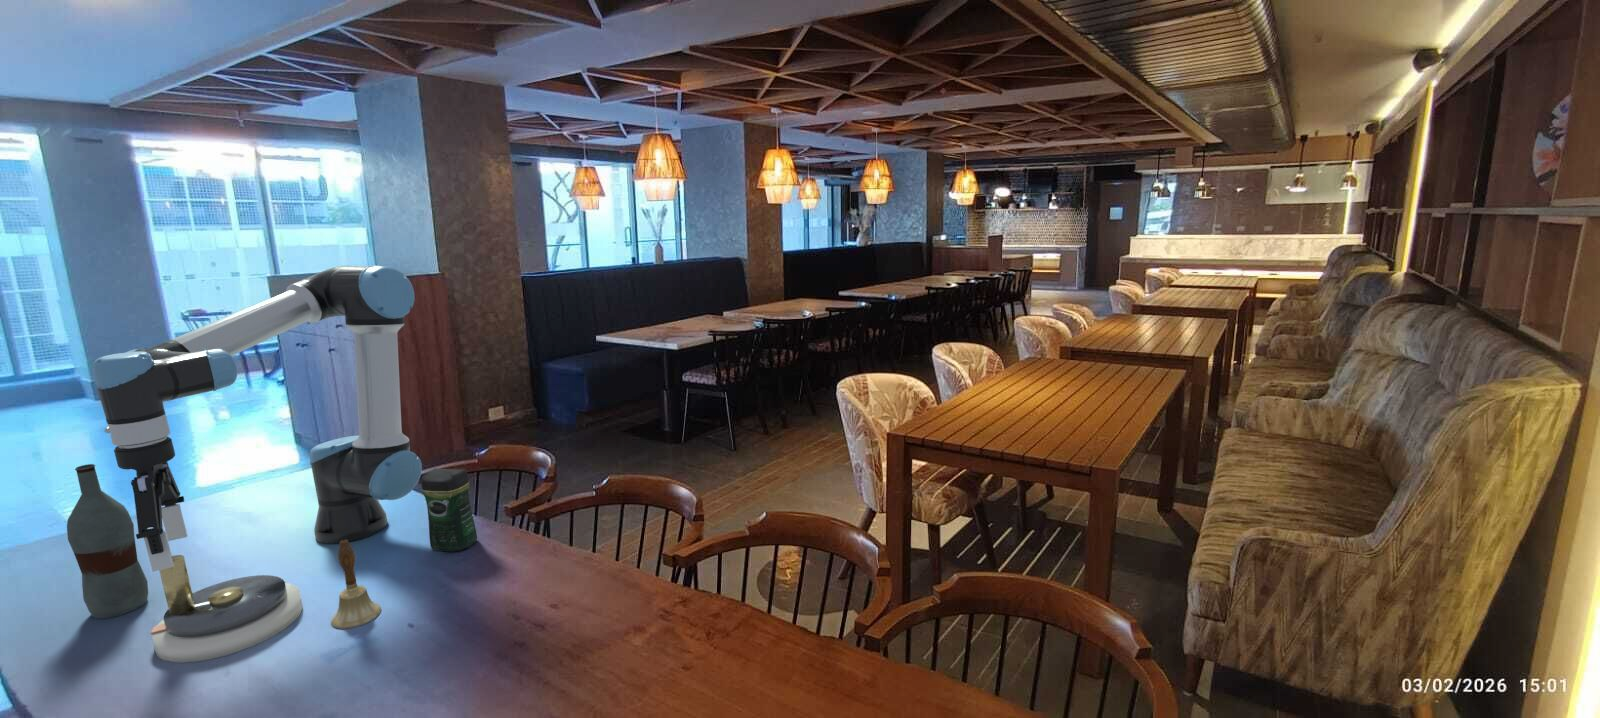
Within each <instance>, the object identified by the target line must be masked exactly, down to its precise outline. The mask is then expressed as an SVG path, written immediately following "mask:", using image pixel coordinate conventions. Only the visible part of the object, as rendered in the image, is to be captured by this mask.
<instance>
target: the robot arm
mask: <svg viewBox="0 0 1600 718" xmlns="http://www.w3.org/2000/svg"><path fill="white" fill-rule="evenodd" d="M285 289H286V290H285V292H283V293H280V294H278V295H275V296H272V297H271V298H268V299H265V300H264V301H261V302H258V303H256V304H253V305H251V306H248V307H246V308H244V309H242V310H239V311H237V312H234V313H232V314H230V315H227V316H224V317H222V318H220V319H217V320H215V321H212V322H211V323H208V324H206V325H203V326H201V327H199V328H195V329H193V330H191V331H189V332H186V333H185V334H181V335H179V336H177V337H175V338H172V339H170V340H167V341H165V342H161V343H159V344H156V345H154V346H152V347H149V348H147V347H145V348H144V347H142V348H135V349H131V350H128V351H126V352H118V353H113V354H108V355H104V356H100V357H99V358H96V359H95V360H94V362H93V363H92V368H93V369H92V370H93V377H94V378H93V379H94V386H95V388H96V389H97V392H98V397H99V400H100V403H101V406H102V410H103V413H104V416H105V421H106V424H107V427H105V428H104V430H103V432H104V433H106V434H110V439H111V444H112V445H114V446H116V447H114V449H113V453H114V456H115V460H116V463H117V467H118V468H119V469H122V470H134V471H135V472H136V473H135V474H136V476H135V477H133V479H131V482H130V484H131V486H132V490H133V498H134V506H135V515H136V522H137V532H138V533H136V534H135V536H136V539H137V540H139V539H143V542H145V543H144V544H145V548H146V551H147V556H148V558H149V562H150V563H149V564H150V565H151V566H150V567H151V571H152V572H157V571H159V570H162V569H166V568H171V567H173V566H174V563H173V559H172V556H173V555H172V551H171V548H170V544H169V542H171V541H174V540H175V541H177V540H180V539H184V538H185V539H186V538H187V537H188V533H187V528H186V524H185V521H184V517H183V512H182V508H181V504H180V503H184V502H185V497H184V495H181V492H180V489H179V488H178V485H177V482H176V480H175V477H174V476H173V473H172V471H171V468H170V466H169V463H168V462H169V461H171V460H172V459H173V458H175V456H176V451H175V448H174V444H173V439H172V438H171V437H169V435H170V434H171V430H170V426H169V423H168V419H167V415H166V411H165V410H166V409H165V405H164V403H165V402H169V401H173V400H177V399H181V398H182V399H183V398H186V397H190V396H195V395H200V394H204V393H207V392H208V393H209V392H216V391H217V390H221V389H223V388H228V387H230V386H232V385H234V383H235V382H236V380H237V377H238V368H237V364H236V361H235V360H234V358H233V357H232V356H235V355H237V354H240V353H242V352H243V351H246V350H248V349H250V348H252V347H255V346H257V345H259V344H261V343H265V342H266V341H268V340H270V339H272V338H274V337H276V336H278V335H281V334H283V333H286V332H287V331H290V330H292V329H294V328H296V327H299V326H301V325H303V324H305V323H309V324H316V323H318V322H321V321H322V320H325V319H328V318H329V319H330V318H334V317H342V316H344V319H345V327H347V328H348V329H350V331H351V332H353V336H354V337H353V338H354V355H355V357H354V358H355V359H354V360H355V376H356V397H357V399H356V400H357V416H358V417H357V418H358V435H351V436H344V437H339V438H336V439H331V440H329V441H326V442H322V443H319V444H317V445H315V446H314V447H312V448H311V449H310V451H309V461H310V462H309V464H310V467H311V471H312V476H313V481H314V482H313V483H314V487H315V488H314V489H315V493H316V498H317V503H318V509H317V515H316V519H315V520H316V521H315V524H314V536H315V540H316V541H317V542H319V543H322V544H331V545H332V544H340V541H341V540H345V539H346V540H348V542H349V543H350V542H353V541H357V540H362V539H365V538H368V537H370V536H372V535H375V534H376V533H378V532H380V531H381V530H383V529H384V528H385V527H386V526H387V525H388V516H387V513H386V511H385V509H384V508H383V506H382V504H381V503H380V501H385V500H387V501H393V500H394V501H395V500H399V499H402V498H404V497H405V496H407V495H408V494H410V493H411V492H412V491H413V489H414V487H416V486H417V485H418V482H419V481H420V478H421V476H422V471H423V470H422V469H423V466H422V465H423V464H422V460H421V458H420V457H419V456H417V454H416V453H414V452H413V451H411V447H410V445H411V444H410V438H409V437H408V436H407V435H405V434H404V433H403V431H402V429H403V428H402V410H401V408H402V407H401V387H400V386H401V385H400V367H399V342H398V332H399V331H400V330H401V328H403V327H404V326H405V316H407V315H408V314H409V313H410V312H411V309H412V308H413V307H414V304H415V299H416V297H415V291H414V287H413V285H412V282H411V281H410V279H409V278H408V277H407V276H405V274H404V273H403V272H402V271H400V270H398V269H397V268H394V267H391V266H384V265H378V264H376V265H339V266H334V267H332V268H328V269H325V270H322V271H321V272H318V273H315V274H312V275H310V276H308V277H306V278H304V279H301V280H298V281H296V282H293V283H291V284H290V285H288V286H287V287H286V288H285ZM163 526H164V528H163Z"/></svg>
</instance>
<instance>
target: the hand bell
mask: <svg viewBox="0 0 1600 718" xmlns="http://www.w3.org/2000/svg"><path fill="white" fill-rule="evenodd" d="M338 546H339V547H338V552H337V553H338V554H337V558H338V562H339V565H340V567H341V569H342V570H343V572H344V573H343V574H344V578H345V579H344V580H345V585H346V588H345V589H343V590H342V591H341V592H340V593H339V595H338V598H339V599H338V601H339V602H338V608H337V611H336V613H335V614H334V615H333V617H332V619H331V621H330V625H331V626H332V628H336V629H340V630H341V629H342V630H344V629H352V628H357V627H360V626H362V625H365V624H369V622H372V621H374V620H375V619H377V617H378V616H379V615H380V614H381V613H382V608H381V606H380V604H378V603H375V602H374V601H373V600H372V599H371V597H370V596H369V594H368V590H367V588H366V586H364V585H358V583H357V579H356V573H355V563H356V562H355V561H356V557H355V550H354V549H353V547H352V545H351V544H350V541H349V542H348V540H346V539H345V540H341V541H340V543H339V545H338Z"/></svg>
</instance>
